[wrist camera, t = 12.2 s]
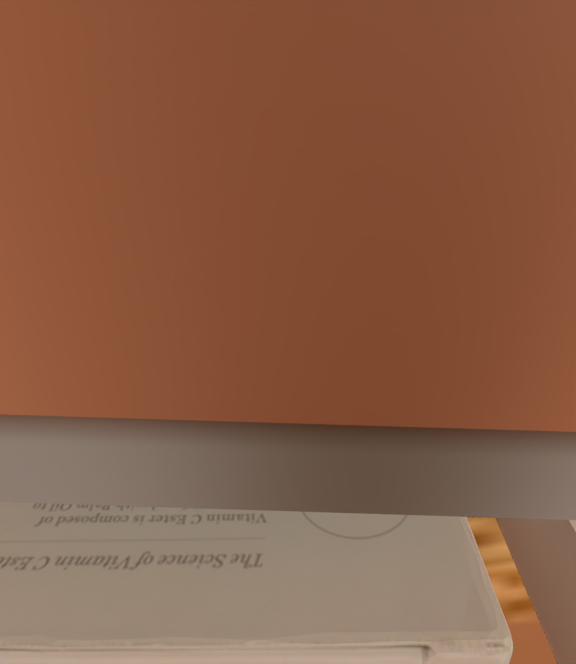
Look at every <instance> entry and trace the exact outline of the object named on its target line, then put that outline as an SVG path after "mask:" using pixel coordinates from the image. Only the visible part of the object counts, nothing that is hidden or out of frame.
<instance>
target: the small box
mask: <svg viewBox="0 0 576 664" xmlns="http://www.w3.org/2000/svg"><path fill="white" fill-rule="evenodd" d="M512 652H513V643H512V637H511V632H510V630H509V627H508V625H507V622H506V619H505V617H504V614H503V612H502V609H501V607H500V604H499V601H498V599H497V596H496V593H495V591H494V588H493V585H492V583H491V580H490V577H489V575H488V572H487V570H486V567H485V565H484V562H483V560H482V557H481V554H480V552H479V549H478V546H477V543H476V540H475V538H474V535H473V532H472V530H471V527H470V525H469V522H468V519H467V517H456V516H425V515H393V514H362V513H330V512H298V511H267V510H235V509H204V508H172V507H140V506H109V505H77V504H46V503H14V502H0V664H509V662H510V659H511V655H512Z"/></svg>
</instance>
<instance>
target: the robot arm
mask: <svg viewBox="0 0 576 664" xmlns="http://www.w3.org/2000/svg"><path fill="white" fill-rule="evenodd" d="M496 520H497V522H498V525H499V527H500V529H501V532H502V534H503V536H504V539H505V541H506V543H507V546H508V548H509V551H510V553H511V555H512V558H513V560H514V562H515V565H516V567H517V569H518V572H519V574H520V576H521V579H522V581H523V584H524V586H525V588H526V591H527V593H528V595H529V598H530V600H531V602H532V605H533V607H534V610H535V612H536V614H537V617H538V619H539V621H540V624H541V626H542V628H543V631H544V633H545V635H546V638H547V640H548V643H549V645H550V647H551V649H552V652H553V654H554V657H555V659H556V661H557V664H576V520H551V519H519V518H496Z"/></svg>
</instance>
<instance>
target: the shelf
mask: <svg viewBox="0 0 576 664" xmlns="http://www.w3.org/2000/svg"><path fill="white" fill-rule="evenodd" d="M0 502H14V503H46V504H77V505H109V506H140V507H172V508H204V509H235V510H267V511H298V512H330V513H362V514H393V515H425V516H456V517H488V518H519V519H551V520H576V0H0Z"/></svg>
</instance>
